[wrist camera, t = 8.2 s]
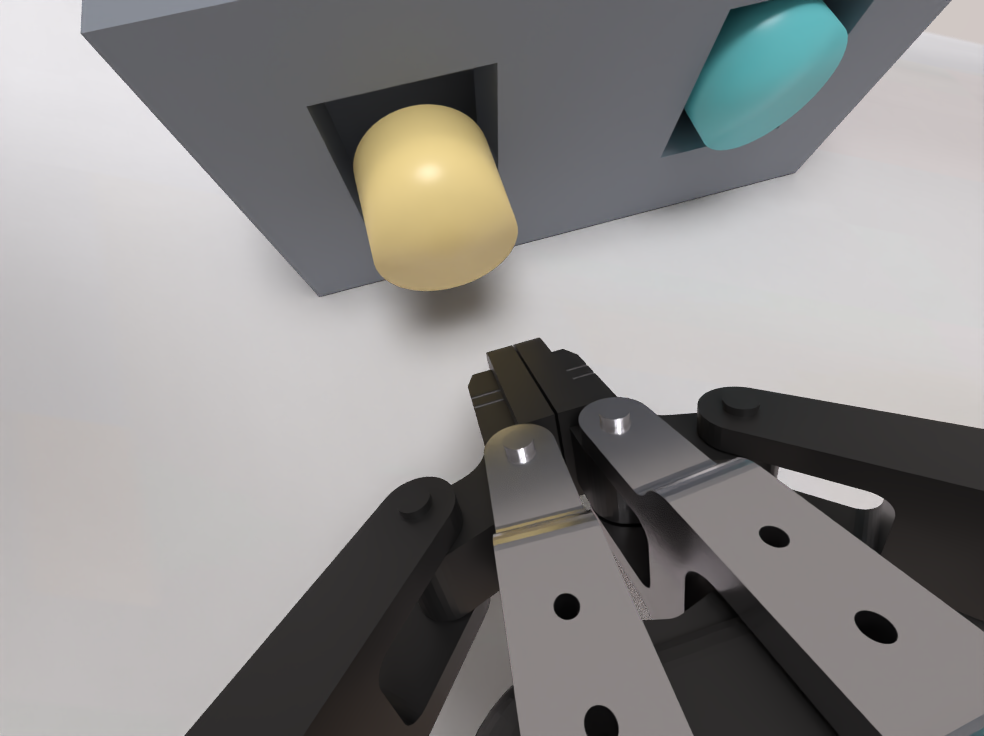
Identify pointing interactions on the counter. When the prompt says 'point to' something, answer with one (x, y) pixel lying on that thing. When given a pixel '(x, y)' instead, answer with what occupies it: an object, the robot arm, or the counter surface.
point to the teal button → (764, 69)
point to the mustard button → (432, 199)
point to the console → (463, 101)
